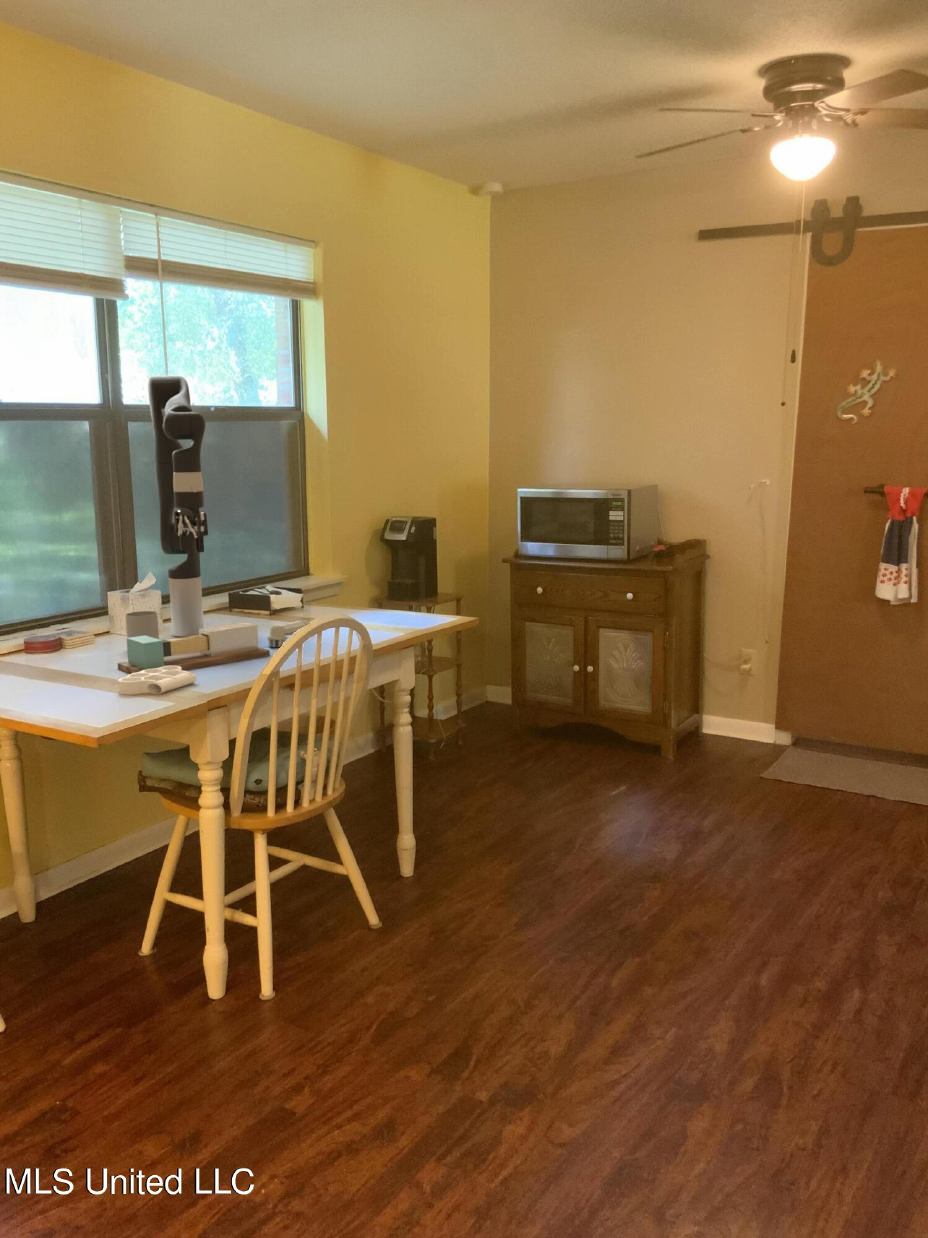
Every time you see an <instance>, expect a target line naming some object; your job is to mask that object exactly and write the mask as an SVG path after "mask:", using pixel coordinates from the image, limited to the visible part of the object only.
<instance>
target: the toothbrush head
mask: <svg viewBox="0 0 928 1238" xmlns="http://www.w3.org/2000/svg"><path fill="white" fill-rule="evenodd" d="M308 624H310V622H309V621H308V620H306V619H305V620H304V619H296V620H295V621H292V622H289V623H285V624H281V625H271V626H270V629H269V635H268V636H266V637H267V638H266V639H267V640H268V647H274V648H279V647H281V646H282V644H283V642H285V641H286V642H287V639H288V636H293V635H292V634H293V633H294V632H296V631H297V630H298V629H300V628H302V627H304V626H306V625H308ZM310 625H311V624H310Z"/></svg>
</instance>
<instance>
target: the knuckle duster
mask: <svg viewBox="0 0 928 1238" xmlns="http://www.w3.org/2000/svg"><path fill="white" fill-rule="evenodd" d="M197 680H198V679H197V676H196V674H194V673H193V672H190V671H189V670H184V671H182V668H181V667H180V666H162V667H159V668H154V669H147V670H142V671H140V672H136V673H131V674H130V673H128V674H127V675H126V676H125V677H121V678H119V679H118V680H117V684H118V686H117V688H118V693H119V694H121V695H138V694H144V693H145V694H153V695H161V694H163V693H166V692H170V691H174V690H177V689H179V688H182V687H185V686H188V685H193V684H194V683H196V682H197ZM192 683H193V684H192ZM158 691H160V692H158Z"/></svg>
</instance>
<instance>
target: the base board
mask: <svg viewBox="0 0 928 1238" xmlns="http://www.w3.org/2000/svg"><path fill="white" fill-rule="evenodd" d="M269 656H271V653H270V649H268V648H263V647H260V646H259V649H253V650H247V651H241V652H235V653H229V654H223V655H217V656H208V655H205V654H202V653H200V650H199V651H193V652H187V653H181V654H174V655H171V656H168V657H164V666H180V667H181V668H182V671H189V670H194V669H193V668H195V669H201V668H206V667H207V668H208V667H212V666H217V665H223V664H224V665H225V664H229V663H234V662H240V661H245V660H253V659H257V658H258V659H259V658H264V657H269ZM200 667H201V668H200ZM156 668H159V667H156ZM150 669H154V668H150ZM117 670H120V671H122V670H123V671H122V672H125V673H128V674H130V673H136V672H140V671H142V670H147V669H143V668H140V667H138V666H135V665H132V664H129V663H128V661H123V662H117Z"/></svg>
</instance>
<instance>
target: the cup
mask: <svg viewBox="0 0 928 1238" xmlns="http://www.w3.org/2000/svg"><path fill="white" fill-rule="evenodd" d="M158 619H159V618H158V612H156V611H152V610H144V611H143V610H142V611H140V610H139V611H132V612H128V613H126V614H125V626H126V627H125V628H126V629H125V630H126V639H127V638H131V637H137V636H144V635H146V636H149V637H152V638H156V639H159V640H160V636H159V634H160V633H159V623H158V621H159V620H158Z"/></svg>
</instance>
